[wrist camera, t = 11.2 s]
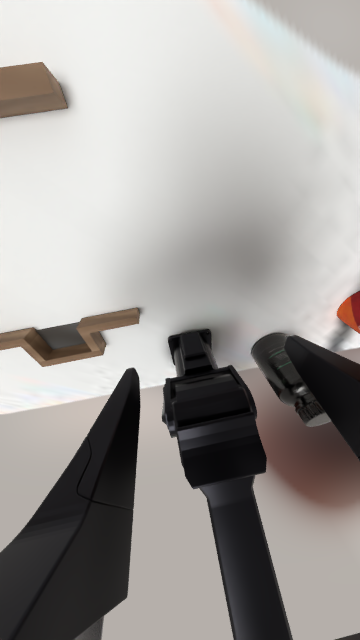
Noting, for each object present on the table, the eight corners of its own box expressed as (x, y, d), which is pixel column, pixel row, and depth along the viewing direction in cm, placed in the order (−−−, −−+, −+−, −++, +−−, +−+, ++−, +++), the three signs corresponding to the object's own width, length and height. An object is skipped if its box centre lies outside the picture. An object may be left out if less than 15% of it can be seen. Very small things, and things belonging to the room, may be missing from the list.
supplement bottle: (283, 354, 31) (342, 422, 22) (249, 362, 31) (292, 434, 22) (291, 327, 27) (367, 398, 18) (251, 337, 27) (306, 413, 18)
